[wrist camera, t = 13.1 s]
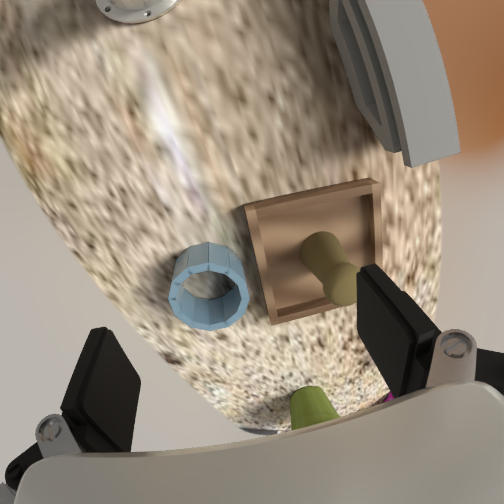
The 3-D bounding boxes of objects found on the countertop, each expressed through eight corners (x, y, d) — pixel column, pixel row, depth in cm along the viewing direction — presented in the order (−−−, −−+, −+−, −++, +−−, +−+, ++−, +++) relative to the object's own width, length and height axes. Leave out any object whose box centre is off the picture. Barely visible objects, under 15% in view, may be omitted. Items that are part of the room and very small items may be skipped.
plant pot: (344, 387, 60) (362, 428, 50) (305, 416, 63) (317, 457, 53) (307, 369, 55) (323, 416, 45) (266, 403, 58) (275, 448, 48)
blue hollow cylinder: (164, 253, 42) (158, 274, 37) (235, 235, 42) (238, 255, 37) (186, 310, 46) (183, 336, 41) (250, 296, 47) (255, 320, 41)
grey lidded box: (411, 139, 39) (460, 152, 29) (367, 152, 39) (411, 167, 29) (361, -20, 28) (401, -46, 18) (311, -16, 28) (342, -49, 18)
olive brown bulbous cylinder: (322, 276, 45) (350, 321, 36) (291, 257, 43) (314, 302, 34) (348, 244, 44) (383, 283, 34) (317, 223, 42) (348, 259, 32)
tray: (243, 204, 40) (245, 211, 38) (369, 177, 41) (379, 182, 38) (268, 313, 48) (271, 325, 46) (373, 284, 49) (381, 294, 46)
